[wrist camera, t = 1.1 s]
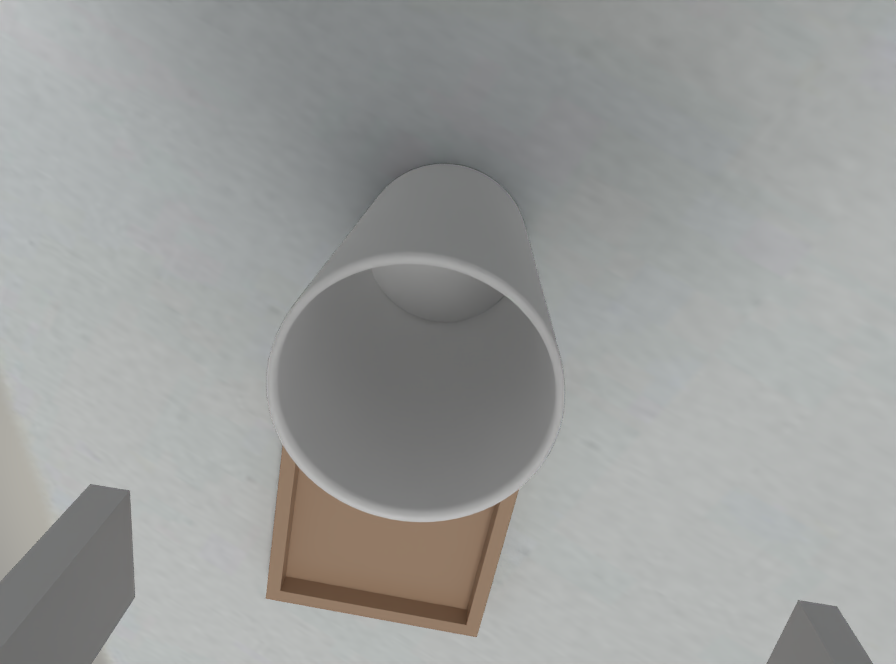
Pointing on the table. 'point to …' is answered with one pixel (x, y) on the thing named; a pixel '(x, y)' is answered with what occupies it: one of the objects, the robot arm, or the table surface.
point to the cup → (422, 355)
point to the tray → (382, 558)
